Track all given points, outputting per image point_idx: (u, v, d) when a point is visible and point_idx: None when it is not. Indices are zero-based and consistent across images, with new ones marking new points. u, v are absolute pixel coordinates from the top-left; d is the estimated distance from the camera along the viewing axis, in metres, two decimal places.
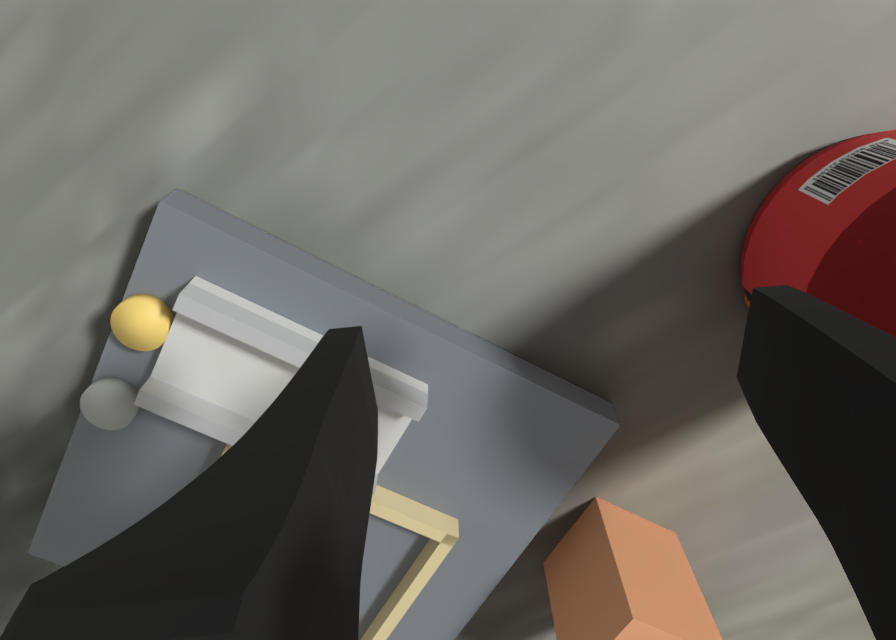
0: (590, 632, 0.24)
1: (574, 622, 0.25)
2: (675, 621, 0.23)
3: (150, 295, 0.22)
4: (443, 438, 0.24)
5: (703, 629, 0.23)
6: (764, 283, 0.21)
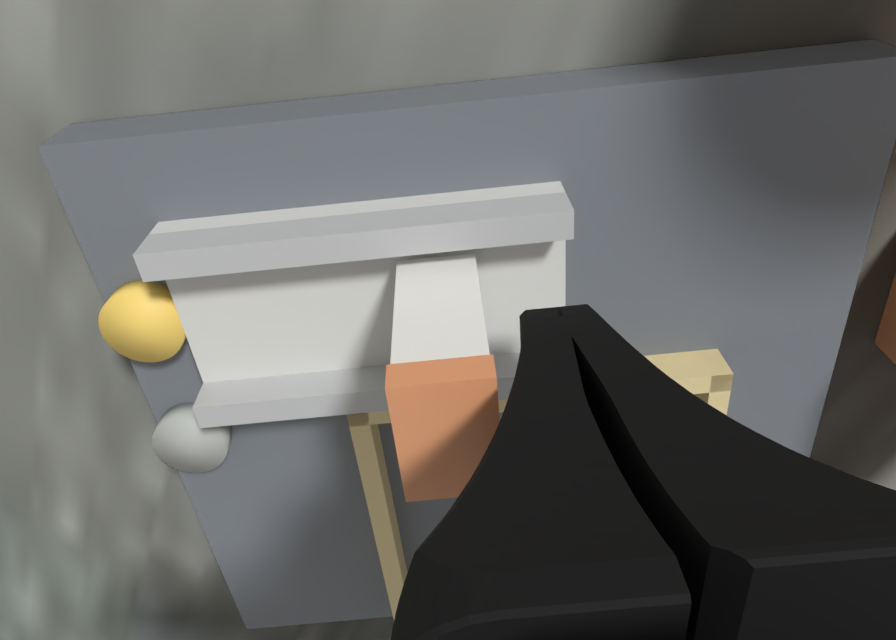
0: None
1: None
2: None
3: (130, 282, 0.15)
4: (630, 247, 0.15)
5: None
6: None
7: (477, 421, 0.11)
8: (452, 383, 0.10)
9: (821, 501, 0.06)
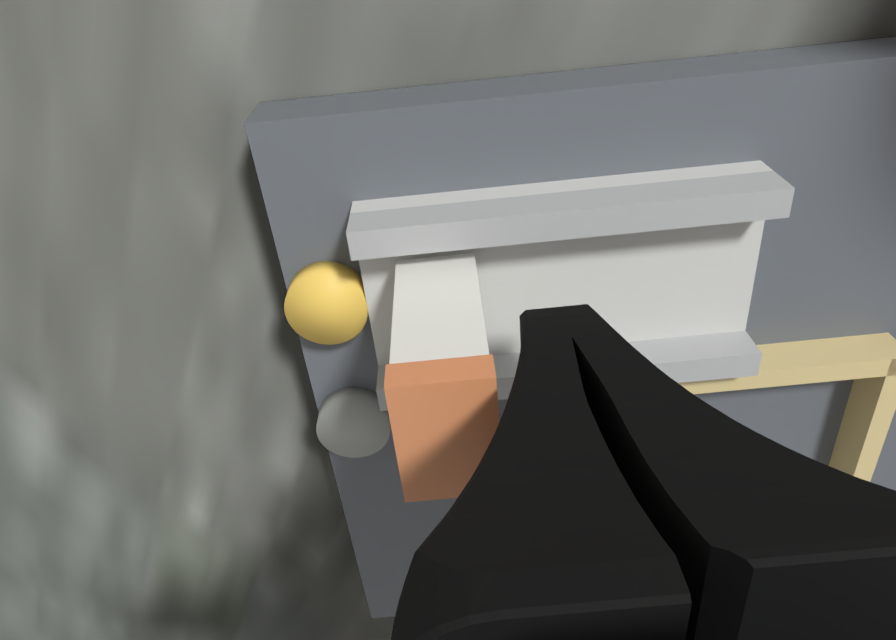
0: None
1: None
2: None
3: (314, 263, 0.15)
4: (819, 228, 0.15)
5: None
6: None
7: (476, 421, 0.11)
8: (452, 383, 0.10)
9: (821, 501, 0.06)
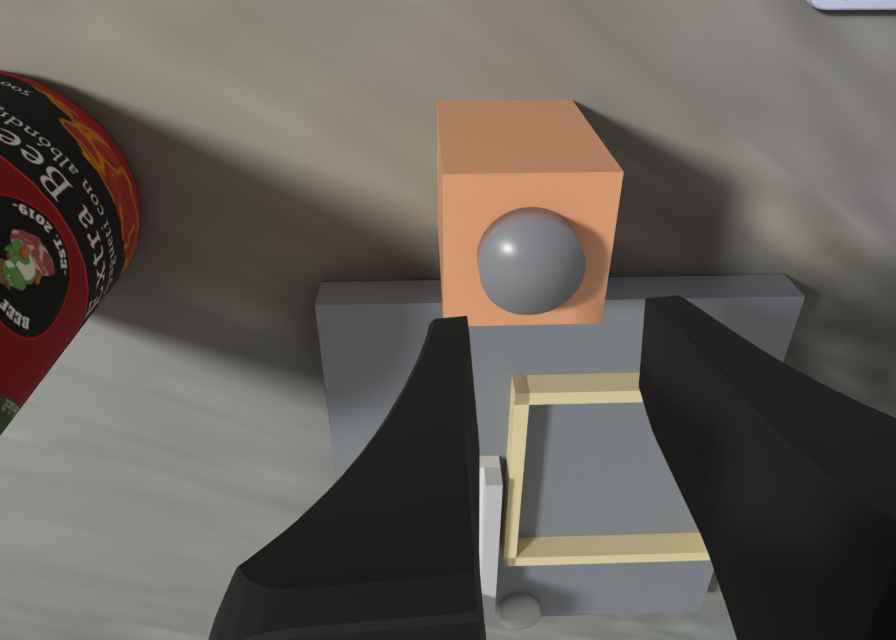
0: None
1: None
2: (442, 244, 0.17)
3: None
4: None
5: None
6: None
7: None
8: None
9: None
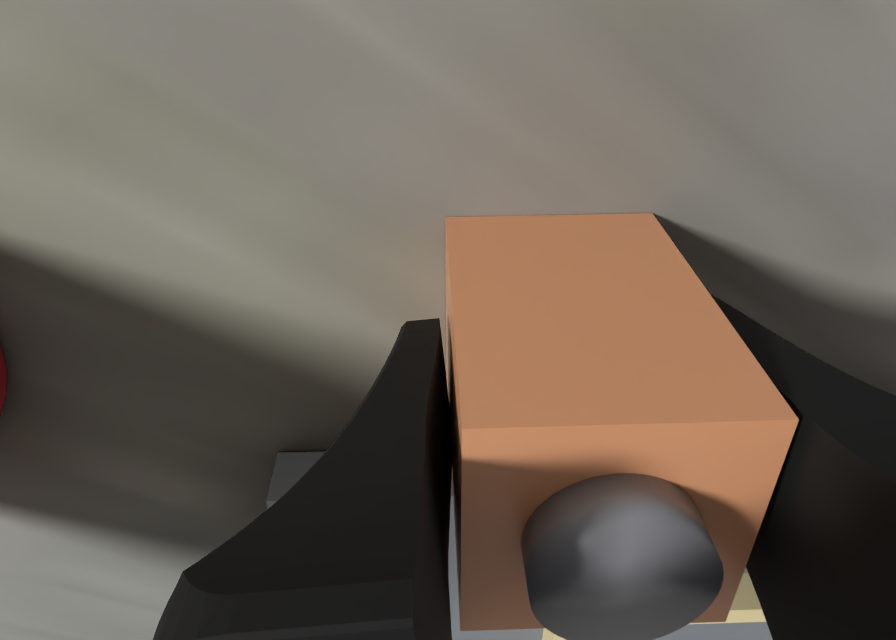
0: None
1: None
2: (458, 504, 0.10)
3: None
4: None
5: (458, 427, 0.09)
6: None
7: None
8: None
9: None
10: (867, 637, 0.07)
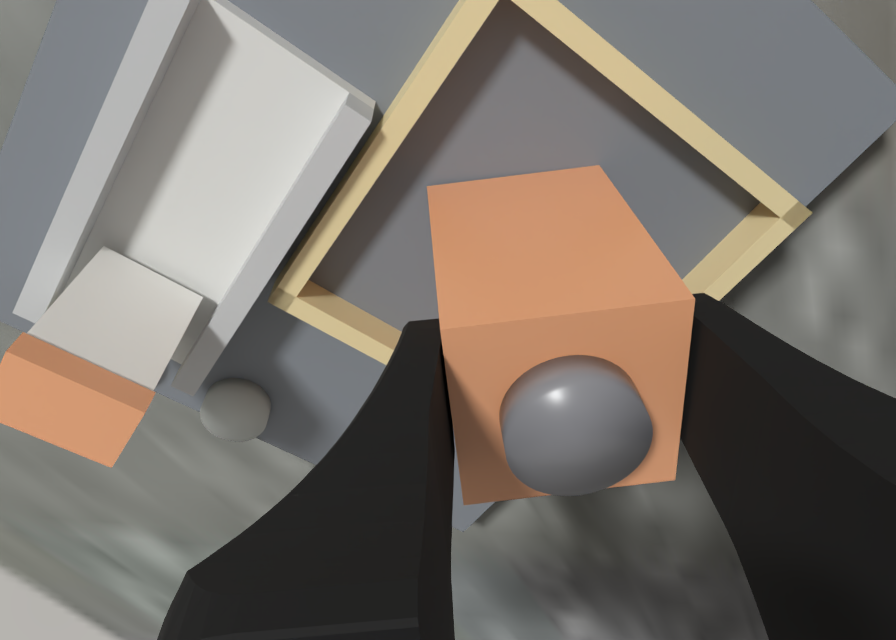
0: None
1: None
2: None
3: None
4: None
5: None
6: None
7: (46, 386, 0.12)
8: None
9: None
10: (862, 637, 0.07)
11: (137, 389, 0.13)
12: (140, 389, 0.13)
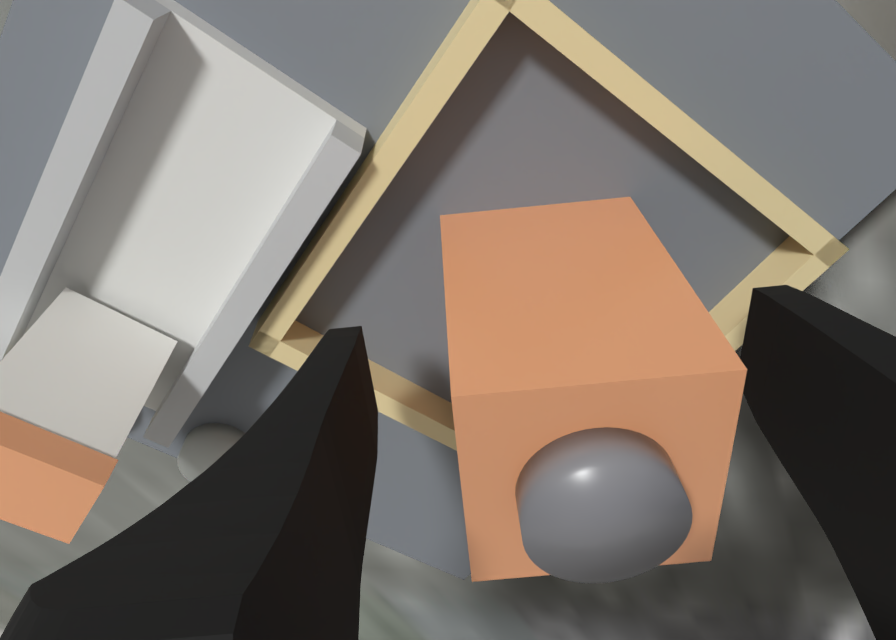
0: None
1: None
2: None
3: None
4: None
5: None
6: None
7: None
8: None
9: None
10: None
11: (97, 456, 0.12)
12: (100, 457, 0.12)
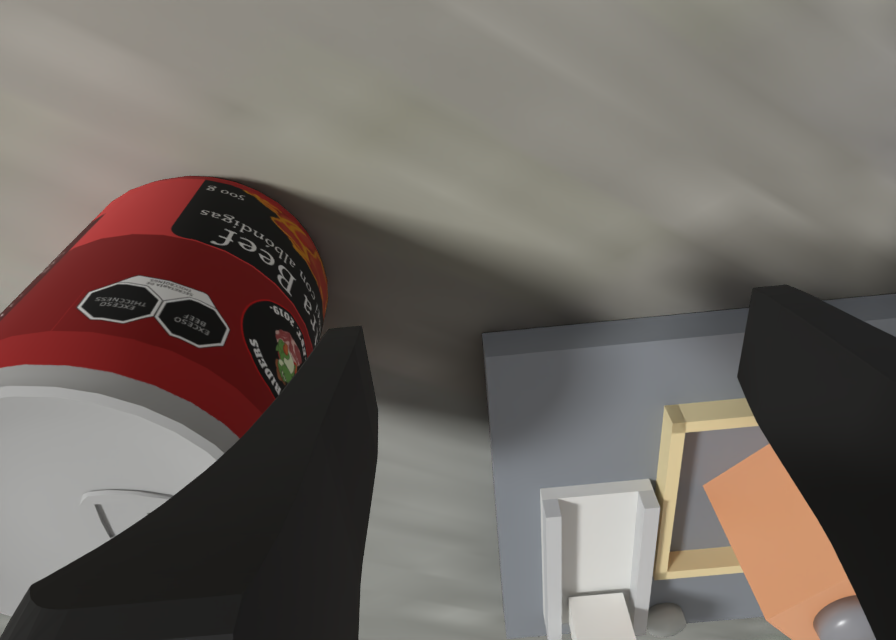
0: None
1: None
2: None
3: None
4: (582, 457, 0.26)
5: None
6: None
7: None
8: None
9: None
10: None
11: None
12: None
